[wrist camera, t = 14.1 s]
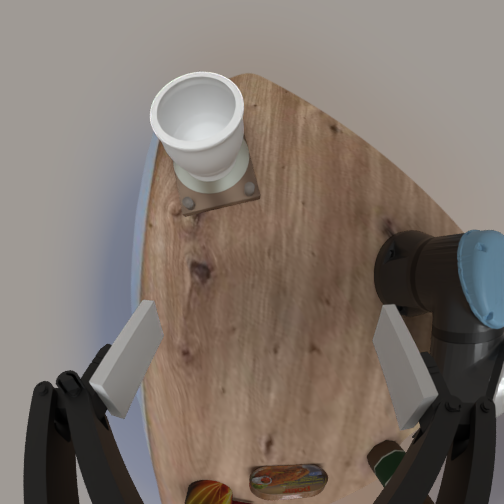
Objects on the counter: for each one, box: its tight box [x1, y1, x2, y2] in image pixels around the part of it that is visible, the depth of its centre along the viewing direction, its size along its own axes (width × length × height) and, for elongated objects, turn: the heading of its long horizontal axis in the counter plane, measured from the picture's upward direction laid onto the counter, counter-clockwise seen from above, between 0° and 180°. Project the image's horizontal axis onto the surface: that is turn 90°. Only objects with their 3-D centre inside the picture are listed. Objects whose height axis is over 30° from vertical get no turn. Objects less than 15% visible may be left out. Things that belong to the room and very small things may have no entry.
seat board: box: [173, 134, 260, 217], centre depth 40 cm, size 12×14×5 cm
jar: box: [150, 72, 244, 182], centre depth 33 cm, size 11×10×15 cm
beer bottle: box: [367, 441, 434, 504], centre depth 29 cm, size 8×8×24 cm
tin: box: [249, 464, 328, 500], centre depth 37 cm, size 15×3×8 cm, turn 86°
